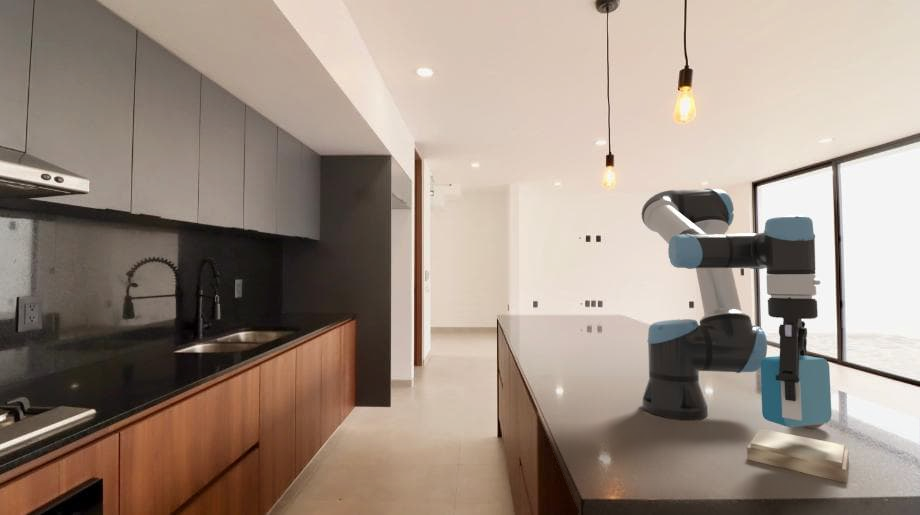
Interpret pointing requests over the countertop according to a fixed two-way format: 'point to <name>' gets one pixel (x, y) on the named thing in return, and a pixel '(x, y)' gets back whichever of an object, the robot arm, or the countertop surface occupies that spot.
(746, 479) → the countertop surface
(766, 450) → the stand
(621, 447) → the countertop surface
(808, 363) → the blue box
